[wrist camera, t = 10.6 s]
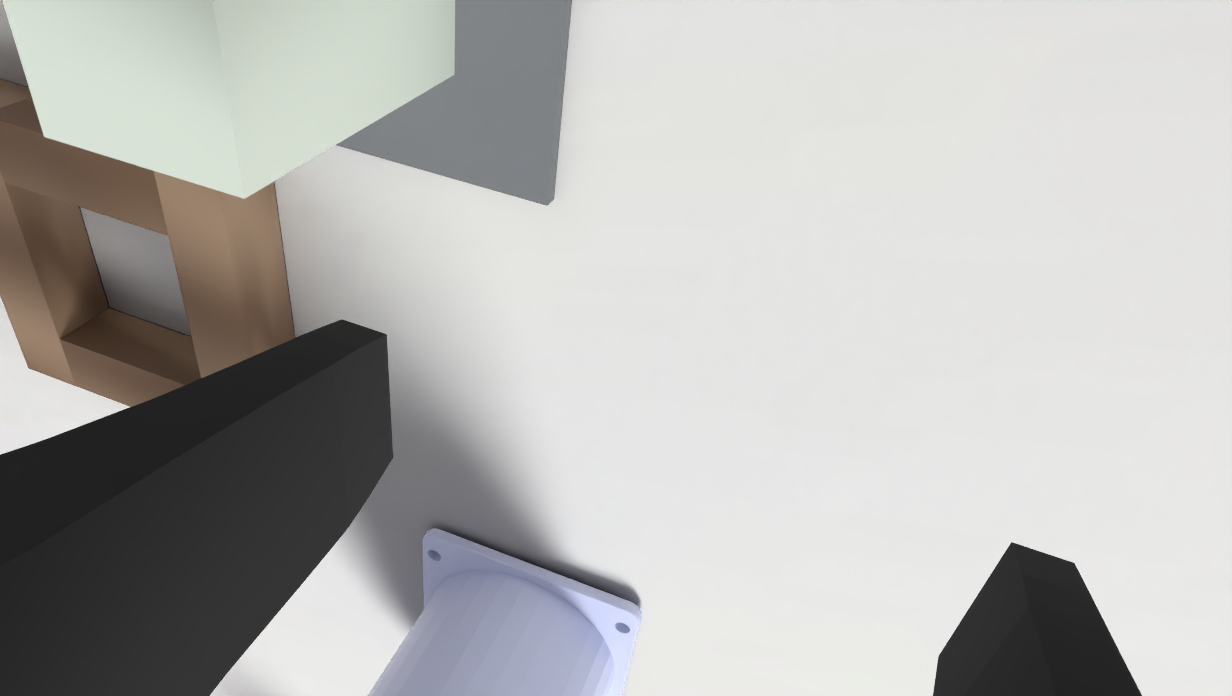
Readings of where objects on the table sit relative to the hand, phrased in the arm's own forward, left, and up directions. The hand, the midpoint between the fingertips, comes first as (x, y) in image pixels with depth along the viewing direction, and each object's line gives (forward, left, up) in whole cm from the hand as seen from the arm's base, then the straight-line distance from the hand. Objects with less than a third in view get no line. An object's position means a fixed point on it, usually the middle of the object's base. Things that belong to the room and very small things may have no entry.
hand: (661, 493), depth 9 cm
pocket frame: (-8, +19, -10) cm, 23 cm away
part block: (+2, +10, -10) cm, 14 cm away
